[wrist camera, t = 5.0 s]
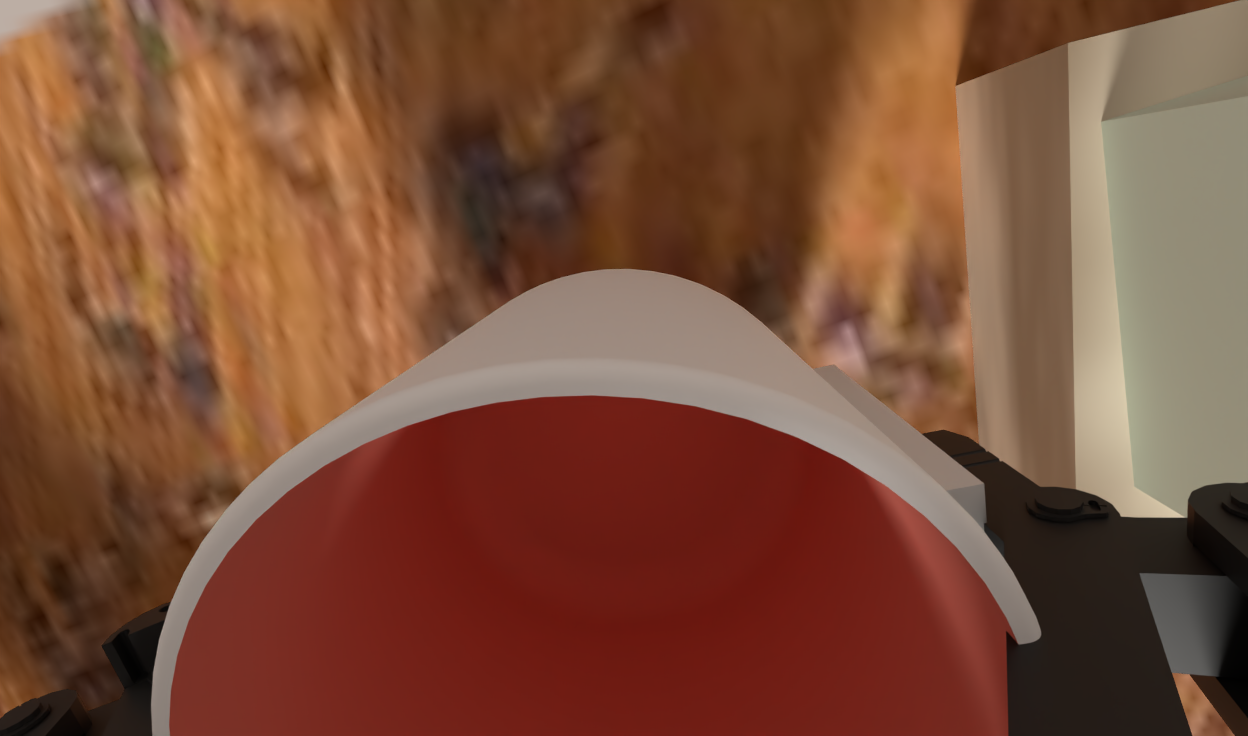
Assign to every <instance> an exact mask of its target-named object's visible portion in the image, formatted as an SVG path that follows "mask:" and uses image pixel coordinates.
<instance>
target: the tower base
mask: <svg viewBox="0 0 1248 736" xmlns="http://www.w3.org/2000/svg"><path fill="white" fill-rule="evenodd" d="M1245 76H1248V0H1239V1H1235V2H1231V3H1227V4H1223V5H1219V6H1215V7H1211V8H1207V9H1203V10H1199V11H1195V12H1191V13H1187V14H1183V15H1179V16H1175V17H1171V18H1167V19H1163V20H1158V21H1154V22H1150V23H1146V24H1142V25H1138V26H1134V27H1130V28H1126V29H1122V30H1118V31H1114V32H1110V33H1106V34H1102V35H1098V36H1094V37H1090V38H1086V39H1082V40H1078V41H1074V42H1070V43H1067V44H1064V45H1061V46H1059V47H1056V48H1054V49H1051V50H1048V51H1046V52H1043V53H1041V54H1038V55H1035V56H1033V57H1030V58H1027V59H1025V60H1022V61H1020V62H1017V63H1014V64H1012V65H1009V66H1007V67H1004V68H1001V69H999V70H996V71H994V72H991V73H988V74H986V75H983V76H980V77H978V78H975V79H973V80H970V81H967V82H965V83H962V84H960V85H957V86H956V101H957V116H958V131H959V146H960V161H961V176H962V191H963V207H964V222H965V237H966V252H967V267H968V282H969V297H970V312H971V327H972V342H973V357H974V373H975V388H976V403H977V418H978V433H979V445H980V446H982V447H983V448H985V450H986V452H987V451H989V452H990V453H992V454H993V455H995V456H996V457H998V458H999V460H1000V461H1003V462H1005V463H1006V464H1008V465H1009V466H1011V467H1012V468H1014V469H1015V470H1017V471H1018V472H1019V473H1021V474H1022V475H1024V476H1025V477H1027V478H1028V479H1030V480H1031V481H1033V482H1034V483H1035V484H1037V485H1038V486H1040V487H1062V488H1070V489H1077V490H1080V491H1084V492H1087V493H1090V494H1094V495H1097V496H1099V497H1100V498H1102V499H1104V500H1106V501H1108V502H1109V503H1111V504H1113V506H1114V507H1115V508H1116V510H1117V511H1118V512H1119V513H1120V516H1121V517H1160V518H1185V517H1183V516H1182V515H1180V514H1178V513H1177V512H1175V511H1174V510H1172V509H1170V508H1169V507H1167V506H1165V505H1164V504H1162V503H1160V502H1159V501H1157V500H1155V499H1154V498H1152V497H1150V496H1149V495H1147V494H1146V493H1144V492H1142V491H1141V490H1139V489H1137V488H1136V487H1134V478H1133V467H1132V456H1131V445H1130V434H1129V423H1128V412H1127V401H1126V390H1125V379H1124V368H1123V357H1122V346H1121V335H1120V324H1119V313H1118V302H1117V291H1116V280H1115V269H1114V258H1113V247H1112V236H1111V225H1110V214H1109V203H1108V192H1107V181H1106V170H1105V159H1104V148H1103V137H1102V126H1101V122H1102V121H1105V120H1108V119H1112V118H1115V117H1118V116H1121V115H1124V114H1127V113H1131V112H1134V111H1137V110H1140V109H1143V108H1146V107H1150V106H1153V105H1156V104H1159V103H1162V102H1166V101H1169V100H1172V99H1175V98H1178V97H1181V96H1185V95H1188V94H1191V93H1194V92H1197V91H1201V90H1204V89H1207V88H1210V87H1213V86H1216V85H1220V84H1223V83H1226V82H1229V81H1232V80H1236V79H1239V78H1242V77H1245Z"/></svg>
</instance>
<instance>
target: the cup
mask: <svg viewBox="0 0 1248 736" xmlns="http://www.w3.org/2000/svg"><path fill="white" fill-rule="evenodd" d="M1006 631H1007V632H1008V633H1009V634H1010V635H1011V637H1012V638H1013V639H1014V640H1015V641H1016V642H1017V643H1018V645H1019V644H1026V643H1031V642H1034V641H1037V640H1038V639H1039V638H1040V637H1041V629H1040V626H1039V624H1038V621H1037V618H1036V616H1035V614H1034V612H1033V610H1032V608H1031V606H1030V604H1029V602H1028V600H1027V598H1026V596H1025V594H1024V592H1023V590H1022V588H1021V586H1020V584H1019V582H1018V581H1017V579H1016V577H1015V575H1014V573H1013V571H1012V570H1011V568H1010V567H1009V565H1008V564H1007V562H1006V561H1005V559H1004V558H1003V556H1002V555H1001V553H1000V552H999V551H998V549H997V548H996V547H995V545H994V544H993V543H992V541H991V540H990V539H989V537H988V536H987V535H986V533H985V532H984V531H983V529H982V528H981V527H980V526H979V525H978V523H977V522H976V521H975V520H974V519H973V518H972V517H971V516H970V515H969V514H968V513H967V512H966V511H965V510H964V508H963V507H962V506H961V505H960V504H959V503H958V502H957V501H956V500H955V499H954V498H953V497H952V496H951V495H950V494H949V493H948V492H947V491H946V490H945V489H944V488H943V487H942V486H941V485H940V484H939V483H937V482H936V481H935V480H934V479H933V478H932V477H931V476H930V475H929V474H928V473H926V472H925V471H924V470H923V469H922V468H921V467H920V466H919V465H918V464H917V463H915V462H914V461H913V460H912V459H911V458H910V457H909V456H908V455H907V454H906V453H904V452H903V451H902V450H901V449H900V448H899V447H898V446H897V445H896V444H895V443H893V442H892V441H891V440H890V439H889V438H888V437H887V436H886V435H885V434H884V433H882V432H881V431H880V430H879V429H878V428H877V427H876V426H875V425H874V424H873V423H871V422H870V421H869V420H868V419H867V418H866V417H865V416H864V415H863V414H862V413H860V412H859V411H858V410H857V409H856V408H855V407H854V406H853V405H852V404H851V403H849V402H848V401H847V400H846V399H845V398H844V397H843V396H842V395H841V394H839V393H838V392H837V391H836V390H835V389H834V388H833V387H832V386H831V385H830V384H828V383H827V382H826V381H825V380H824V379H823V378H822V377H821V376H820V375H819V374H818V373H816V372H815V371H814V370H813V369H812V368H811V367H810V366H809V365H808V364H807V363H805V362H804V361H803V360H802V359H801V358H800V357H799V356H798V355H797V354H796V353H795V352H793V351H792V350H791V349H790V348H789V347H788V346H787V345H786V344H785V343H784V342H783V341H781V340H780V339H779V338H778V337H777V336H776V335H775V334H774V333H773V332H772V331H771V330H769V329H768V328H767V327H766V326H765V325H764V324H763V323H762V322H761V321H759V320H758V319H757V318H756V317H754V316H753V315H752V314H751V313H749V312H748V311H747V310H746V309H744V308H743V307H741V306H740V305H738V304H737V303H735V302H734V301H732V300H730V299H729V298H727V297H726V296H724V295H722V294H720V293H718V292H716V291H714V290H712V289H710V288H708V287H706V286H704V285H701V284H699V283H696V282H693V281H690V280H687V279H684V278H681V277H678V276H674V275H669V274H665V273H660V272H655V271H647V270H636V269H604V270H596V271H588V272H582V273H578V274H573V275H569V276H565V277H561V278H558V279H555V280H552V281H549V282H547V283H544V284H541V285H539V286H537V287H535V288H533V289H530V290H528V291H526V292H524V293H523V294H521V295H519V296H517V297H516V298H514V299H512V300H510V301H509V302H507V303H506V304H504V305H503V306H501V307H500V308H498V309H497V310H495V311H494V312H492V313H491V314H489V315H488V316H487V317H485V318H484V319H482V320H481V321H479V322H478V323H476V324H475V325H473V326H472V327H470V328H469V329H467V330H466V331H464V332H463V333H461V334H460V335H458V336H457V337H455V338H454V339H453V340H451V341H450V342H448V343H447V344H445V345H444V346H442V347H441V348H439V349H438V350H436V351H435V352H433V353H432V354H430V355H429V356H427V357H426V358H424V359H423V360H421V361H420V362H418V363H417V364H415V365H414V366H412V367H411V368H410V369H408V370H407V371H405V372H404V373H402V374H401V375H399V376H398V377H396V378H395V379H393V380H392V381H390V382H389V383H387V384H386V385H384V386H383V387H381V388H380V389H378V390H377V391H375V392H374V393H372V394H371V395H369V396H368V397H366V398H365V399H364V400H362V401H361V402H359V403H358V404H356V405H355V406H353V407H352V408H350V409H349V410H347V411H346V412H344V413H343V414H341V415H340V416H338V417H337V418H335V419H334V420H332V421H331V422H329V423H328V424H326V425H325V426H323V427H322V428H320V429H319V430H317V431H316V432H315V433H313V434H312V435H310V436H309V437H308V438H306V439H305V440H303V441H302V442H301V443H299V444H298V445H296V446H295V447H294V448H292V449H291V450H290V451H288V452H287V453H285V454H284V455H283V456H281V457H280V458H278V459H277V460H276V461H275V462H274V463H273V464H272V465H270V466H269V467H268V468H267V469H266V470H265V471H264V472H263V473H261V474H260V475H259V476H258V477H257V478H256V479H255V480H253V481H252V482H251V483H250V484H249V485H248V486H247V487H246V488H245V489H244V491H243V492H242V493H241V494H240V495H239V496H238V497H237V498H236V499H235V500H234V501H233V503H232V504H231V505H230V506H229V507H228V508H227V509H226V510H225V511H224V513H223V514H222V515H221V517H220V518H219V520H218V521H217V522H216V524H215V525H214V526H213V528H212V529H211V530H210V532H209V533H208V534H207V536H206V537H205V538H204V540H203V541H202V543H201V544H200V546H199V548H198V549H197V551H196V553H195V555H194V556H193V558H192V560H191V562H190V563H189V565H188V567H187V568H186V570H185V572H184V574H183V576H182V578H181V580H180V583H179V585H178V587H177V590H176V592H175V594H174V597H173V599H172V601H171V603H170V606H169V609H168V612H167V615H166V619H165V622H164V625H163V629H162V632H161V635H160V639H159V643H158V648H157V654H156V659H155V665H154V671H153V683H152V698H151V715H152V736H1008V694H1007V650H1006Z"/></svg>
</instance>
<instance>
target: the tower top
mask: <svg viewBox="0 0 1248 736" xmlns="http://www.w3.org/2000/svg"><path fill="white" fill-rule="evenodd" d="M1101 126H1102V137H1103V148H1104V159H1105V170H1106V181H1107V192H1108V203H1109V214H1110V225H1111V236H1112V247H1113V258H1114V269H1115V280H1116V291H1117V302H1118V313H1119V324H1120V335H1121V346H1122V357H1123V368H1124V379H1125V390H1126V401H1127V412H1128V423H1129V434H1130V445H1131V456H1132V467H1133V478H1134V487H1136V488H1137V489H1139V490H1141V491H1142V492H1144V493H1146V494H1147V495H1149V496H1150V497H1152V498H1154V499H1155V500H1157V501H1159V502H1160V503H1162V504H1164V505H1165V506H1167V507H1169V508H1170V509H1172V510H1174V511H1175V512H1177V513H1178V514H1180V515H1182V516H1183V517H1185V518H1187V509H1188V498H1189V496H1190V494H1191V492H1192V491H1194V490H1196V489H1198V488H1201V487H1203V486H1205V485H1212V484H1220V483H1246V482H1248V76H1245V77H1242V78H1239V79H1236V80H1232V81H1229V82H1226V83H1223V84H1220V85H1216V86H1213V87H1210V88H1207V89H1204V90H1201V91H1197V92H1194V93H1191V94H1188V95H1185V96H1181V97H1178V98H1175V99H1172V100H1169V101H1166V102H1162V103H1159V104H1156V105H1153V106H1150V107H1146V108H1143V109H1140V110H1137V111H1134V112H1131V113H1127V114H1124V115H1121V116H1118V117H1115V118H1112V119H1108V120H1105V121H1102V122H1101Z"/></svg>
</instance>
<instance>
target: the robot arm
mask: <svg viewBox="0 0 1248 736" xmlns="http://www.w3.org/2000/svg"><path fill="white" fill-rule="evenodd" d="M813 370H814V371H815V372H816V373H818V374H819V375H820V376H821V377H822V378H823V379H824V380H825V381H826V382H827V383H828V384H830V385H831V386H832V387H833V388H834V389H835V390H836V391H837V392H838V393H839V394H841V395H842V396H843V397H844V398H845V399H846V400H847V401H848V402H849V403H851V404H852V405H853V406H854V407H855V408H856V409H857V410H858V411H859V412H860V413H862V414H863V415H864V416H865V417H866V418H867V419H868V420H869V421H870V422H871V423H873V424H874V425H875V426H876V427H877V428H878V429H879V430H880V431H881V432H882V433H884V434H885V435H886V436H887V437H888V438H889V439H890V440H891V441H892V442H893V443H895V444H896V445H897V446H898V447H899V448H900V449H901V450H902V451H903V452H904V453H906V454H907V455H908V456H909V457H910V458H911V459H912V460H913V461H914V462H915V463H917V464H918V465H919V466H920V467H921V468H922V469H923V470H924V471H925V472H926V473H928V474H929V475H930V476H931V477H932V478H933V479H934V480H935V481H936V482H937V483H939V484H940V485H941V486H942V487H943V488H944V489H945V490H946V491H947V492H948V493H949V494H950V495H951V496H952V497H953V498H954V499H955V500H956V501H957V502H958V503H959V504H960V505H961V506H962V507H963V508H964V510H965V511H966V512H967V513H968V514H969V515H970V516H971V517H972V518H973V519H974V520H975V521H976V522H977V523H978V525H979V526H980V527H981V528H982V529H983V531H984V532H985V533H986V535H987V536H988V537H989V539H990V540H991V541H992V543H993V544H994V545H995V547H996V548H997V549H998V551H999V552H1000V553H1001V555H1002V556H1003V558H1004V559H1005V561H1006V562H1007V564H1008V565H1009V567H1010V568H1011V570H1012V571H1013V573H1014V575H1015V577H1016V579H1017V581H1018V582H1019V584H1020V586H1021V588H1022V590H1023V592H1024V594H1025V596H1026V598H1027V600H1028V602H1029V604H1030V606H1031V608H1032V610H1033V612H1034V614H1035V616H1036V618H1037V621H1038V624H1039V626H1040V629H1041V637H1040V638H1039V639H1038V640H1037V641H1034V642H1031V643H1026V644H1019V645H1018V643H1017V642H1016V641H1015V640H1014V639H1013V638H1012V637H1011V635H1010V634H1009V633H1008V632H1007V631H1006V650H1007V694H1008V736H1192V733H1191V730H1190V727H1189V724H1188V721H1187V718H1186V715H1185V712H1184V709H1183V706H1182V703H1181V700H1180V697H1179V694H1178V690H1177V687H1176V684H1175V681H1174V678H1173V675H1172V673H1182V674H1190V676H1191V677H1192V678H1193V680H1194V681H1195V682H1196V684H1197V685H1198V686H1199V688H1200V689H1201V690H1202V692H1203V693H1204V694H1205V696H1206V697H1207V699H1208V700H1209V701H1210V703H1211V704H1212V705H1213V707H1214V708H1215V709H1216V711H1217V712H1218V713H1219V715H1220V716H1221V717H1222V719H1223V720H1224V721H1225V723H1226V724H1227V725H1228V727H1229V728H1230V729H1231V731H1232V732H1233V734H1234V735H1235V736H1248V482H1246V483H1220V484H1212V485H1205V486H1203V487H1201V488H1198V489H1196V490H1194V491H1192V492H1191V494H1190V496H1189V498H1188V509H1187V518H1160V517H1121V516H1120V513H1119V512H1118V511H1117V510H1116V508H1115V507H1114V506H1113V504H1111V503H1109V502H1108V501H1106V500H1104V499H1102V498H1100V497H1099V496H1097V495H1094V494H1090V493H1087V492H1084V491H1080V490H1077V489H1070V488H1062V487H1040V486H1038V485H1037V484H1035V483H1034V482H1033V481H1031V480H1030V479H1028V478H1027V477H1025V476H1024V475H1022V474H1021V473H1019V472H1018V471H1017V470H1015V469H1014V468H1012V467H1011V466H1009V465H1008V464H1006V463H1005V462H1003V461H1000V460H999V458H998V457H996V456H995V455H993V454H992V453H990V452H989V451H987V452H986V450H985V448H983V447H982V446H980V445H979V444H977V443H976V442H974V441H973V440H972V439H970V438H969V437H966V436H962V435H959V434H956V433H953V432H950V431H946V430H940V431H934V432H929V433H924V434H921V433H920V432H918V431H917V430H916V429H915V428H913V427H912V426H911V425H910V424H908V423H907V422H906V421H904V420H903V419H902V418H901V417H899V416H898V415H897V414H896V413H894V412H893V411H892V410H891V409H889V408H888V407H887V406H886V405H884V404H883V403H882V402H880V401H879V400H878V399H877V398H875V397H874V396H873V395H872V394H870V393H869V392H868V391H867V390H865V389H864V388H863V387H862V386H860V385H859V384H858V383H857V382H855V381H854V380H853V379H851V378H850V377H849V376H848V375H846V374H845V373H844V372H843V371H841V370H840V369H839V368H838V367H836V366H835V365H829V366H825V367H820V368H815V369H813ZM170 603H171V602H169V603H166V604H163V605H161V606H158V607H156V608H154V609H152V610H150V611H148V612H145V613H143V614H142V615H140V616H138V617H137V618H135V619H133V620H132V621H130V622H128V623H127V624H125V625H124V626H122V627H121V628H120V629H119V630H117V631H116V632H115V633H113V634H112V635H111V636H110V637H109V638H108V639H107V640H106V641H105V642H104V644H103V645H102V648H103V649H104V651H105V653H106V655H107V657H108V659H109V660H110V662H111V664H112V666H113V668H114V670H115V671H116V673H117V675H118V677H119V679H120V681H121V682H122V684H123V686H124V688H125V690H124V692H123V694H122V696H121V698H120V700H117V701H114V702H112V703H109V704H106V705H103V706H101V707H98V708H95V709H93V710H90V711H87V709H86V707H85V706H84V704H83V702H82V700H81V699H80V697H79V695H78V693H77V692H76V690H69V689H65V690H61V691H57V692H52V693H50V694H47V695H45V696H42V697H40V698H38V699H36V698H34V699H31V700H29V701H27V702H25V703H23V704H22V705H21V706H20V707H19V706H17V707H16V708H14V709H12V710H10V711H9V712H7V713H6V714H5V715H4V716H3V717H2V718H0V736H152V715H151V698H152V683H153V671H154V665H155V659H156V654H157V648H158V643H159V639H160V635H161V632H162V629H163V625H164V622H165V619H166V615H167V612H168V609H169V606H170Z"/></svg>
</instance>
